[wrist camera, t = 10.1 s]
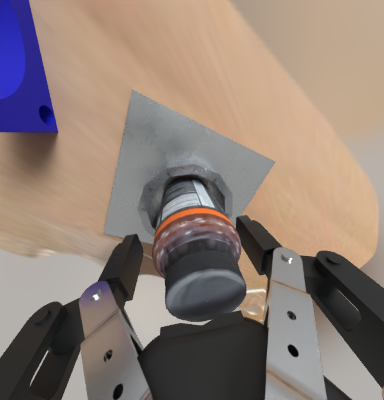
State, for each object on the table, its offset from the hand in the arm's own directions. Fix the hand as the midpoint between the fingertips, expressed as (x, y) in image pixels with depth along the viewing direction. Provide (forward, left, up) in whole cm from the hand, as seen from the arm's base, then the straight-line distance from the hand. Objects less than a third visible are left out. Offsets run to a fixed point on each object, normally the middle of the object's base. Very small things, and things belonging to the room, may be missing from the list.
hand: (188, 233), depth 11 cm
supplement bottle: (0, 0, -6) cm, 6 cm away
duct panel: (0, 0, -7) cm, 7 cm away
